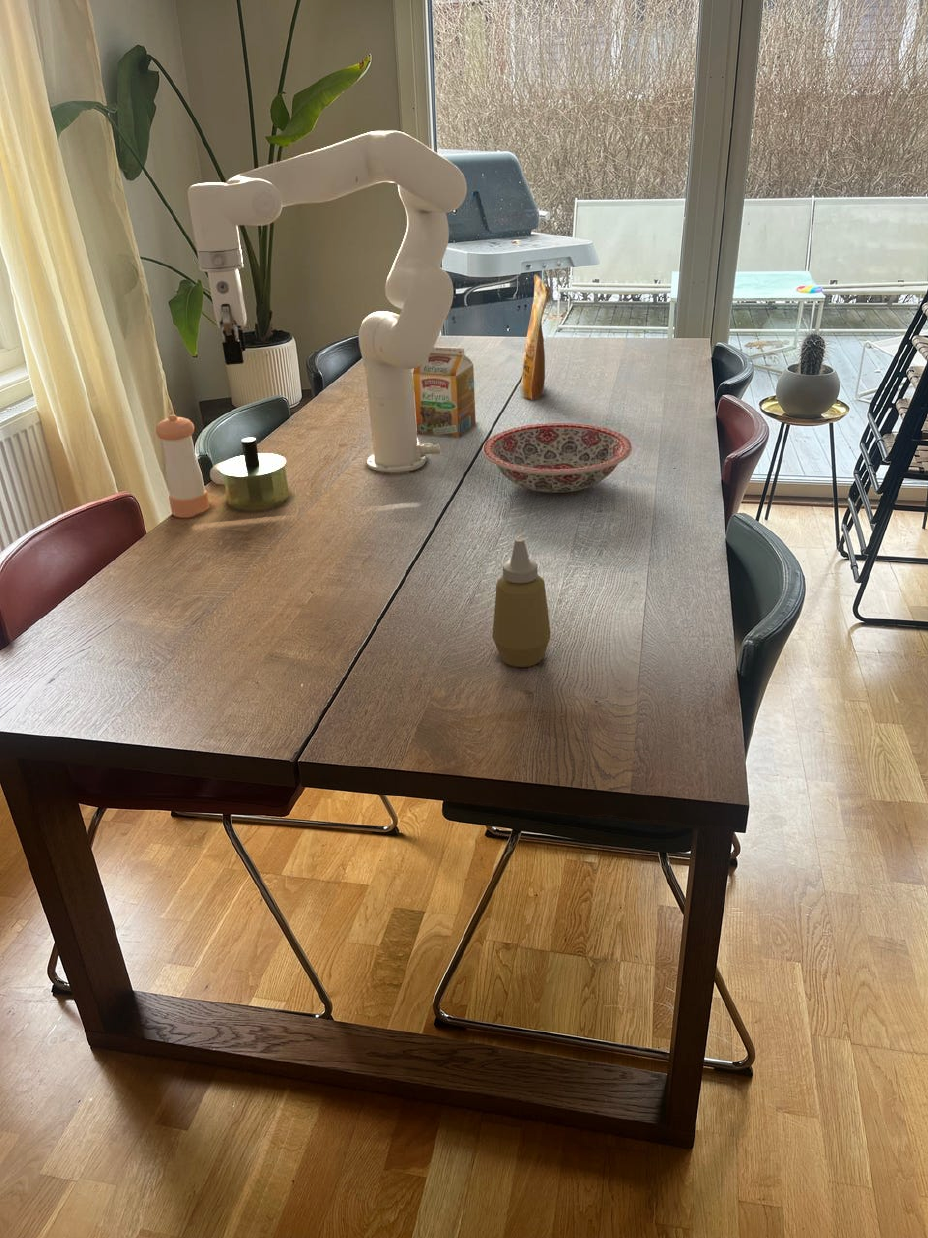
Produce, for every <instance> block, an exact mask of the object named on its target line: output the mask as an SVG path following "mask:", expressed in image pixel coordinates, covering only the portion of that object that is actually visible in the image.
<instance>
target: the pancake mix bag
mask: <svg viewBox="0 0 928 1238" xmlns="http://www.w3.org/2000/svg"><path fill="white" fill-rule="evenodd" d="M533 281H534V282H533V283H534V285H533V302H532V307H531V311H530V312H531V313H530V318H529V323H528V328H527V334H526V340H525V347H524V354H523V361H522V362H523V363H522V369H521V371H522V372H521V382H522V393H523V398H524V399H529V400H531V401H533V400H537V399H541V398H542V396H543V394H544V393H543V392H544V386H545V380H546V352H545V342H544V333H543V327H542V320H543V317H544V313H545V310H546V307H547V304H548V301H549V298H550V289H549V287H548V286H547V285H546V283H545V282H544V281H543V279H542V278H541V277H540V276H539V275H538V274H537V273H536V274H534V275H533Z"/></svg>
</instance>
